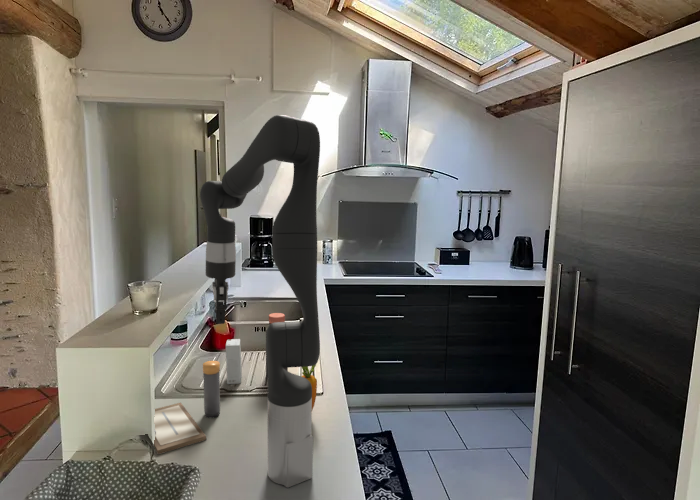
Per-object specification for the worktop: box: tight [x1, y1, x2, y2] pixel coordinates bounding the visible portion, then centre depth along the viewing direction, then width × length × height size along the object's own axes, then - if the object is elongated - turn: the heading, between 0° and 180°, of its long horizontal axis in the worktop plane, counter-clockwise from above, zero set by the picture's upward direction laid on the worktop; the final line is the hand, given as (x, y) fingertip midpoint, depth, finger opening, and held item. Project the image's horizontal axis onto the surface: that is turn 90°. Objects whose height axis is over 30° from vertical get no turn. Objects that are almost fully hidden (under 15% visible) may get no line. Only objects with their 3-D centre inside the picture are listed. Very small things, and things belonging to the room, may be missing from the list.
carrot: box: [300, 364, 318, 411], centre depth 125 cm, size 5×5×15 cm
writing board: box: [153, 402, 207, 455], centre depth 119 cm, size 20×11×2 cm, turn 36°
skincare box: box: [225, 338, 243, 385], centre depth 147 cm, size 6×4×12 cm
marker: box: [202, 360, 221, 419], centre depth 126 cm, size 4×4×14 cm
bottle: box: [265, 312, 289, 380], centre depth 149 cm, size 7×7×20 cm
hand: (219, 318), depth 128 cm, fingers open, 8 cm apart
